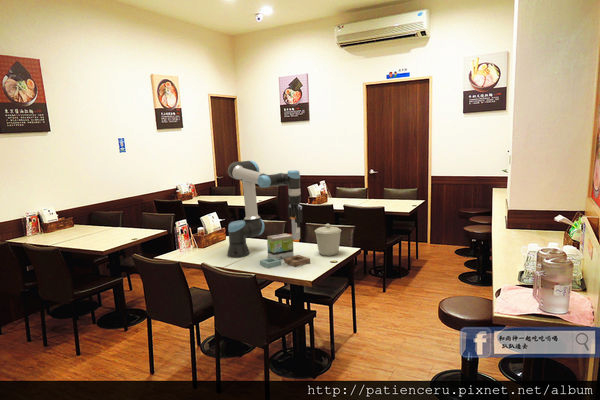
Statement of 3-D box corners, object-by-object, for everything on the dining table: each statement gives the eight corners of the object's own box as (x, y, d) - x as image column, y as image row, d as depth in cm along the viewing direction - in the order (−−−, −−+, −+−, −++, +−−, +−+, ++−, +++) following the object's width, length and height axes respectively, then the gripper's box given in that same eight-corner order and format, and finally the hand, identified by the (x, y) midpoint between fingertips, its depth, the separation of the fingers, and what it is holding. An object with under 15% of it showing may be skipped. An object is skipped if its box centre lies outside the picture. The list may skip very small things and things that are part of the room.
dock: (284, 262, 258) (284, 258, 257) (299, 259, 265) (299, 254, 264) (295, 267, 248) (294, 262, 248) (310, 263, 255) (310, 258, 254)
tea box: (274, 260, 263) (273, 238, 261) (267, 257, 272) (266, 236, 270) (294, 256, 271) (293, 235, 269) (286, 253, 280) (285, 232, 278)
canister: (311, 256, 270) (310, 225, 267) (321, 249, 286) (320, 220, 283) (336, 258, 262) (335, 227, 259) (345, 251, 278) (344, 221, 275)
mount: (259, 264, 255) (259, 260, 255) (273, 261, 261) (272, 257, 260) (268, 268, 247) (267, 263, 247) (281, 265, 253) (281, 260, 252)
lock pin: (291, 238, 254) (290, 217, 252) (297, 237, 257) (296, 215, 255) (295, 240, 251) (294, 217, 249) (301, 238, 253) (300, 216, 251)
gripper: (282, 194, 254) (283, 230, 258) (297, 197, 241) (299, 235, 244) (291, 193, 259) (293, 229, 262) (307, 195, 245) (308, 233, 249)
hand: (296, 231), depth 253 cm, fingers closed on lock pin, 4 cm apart
